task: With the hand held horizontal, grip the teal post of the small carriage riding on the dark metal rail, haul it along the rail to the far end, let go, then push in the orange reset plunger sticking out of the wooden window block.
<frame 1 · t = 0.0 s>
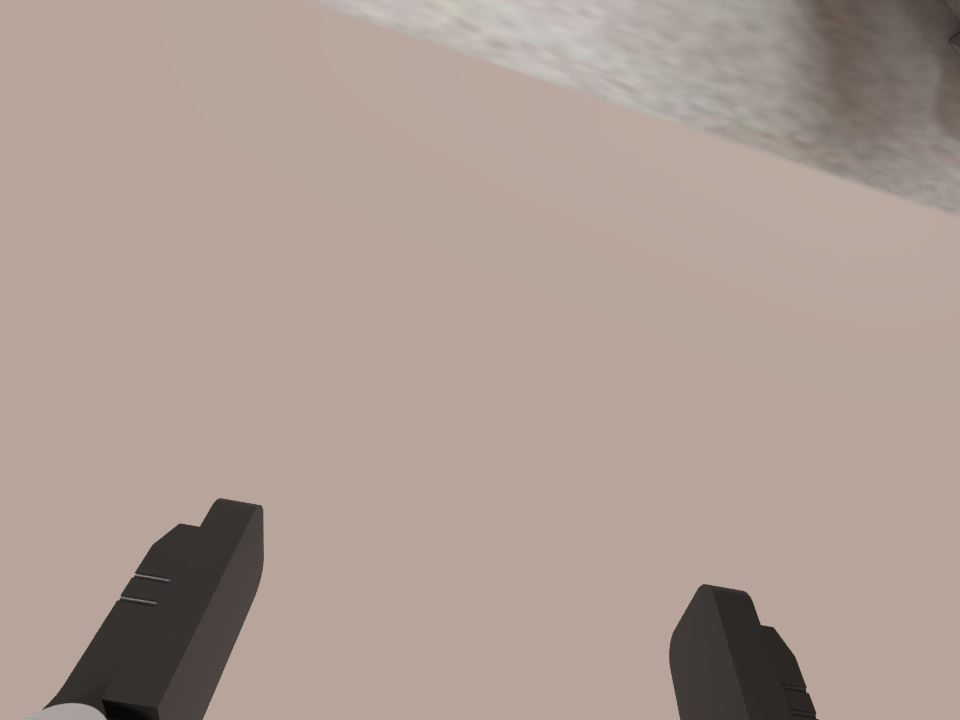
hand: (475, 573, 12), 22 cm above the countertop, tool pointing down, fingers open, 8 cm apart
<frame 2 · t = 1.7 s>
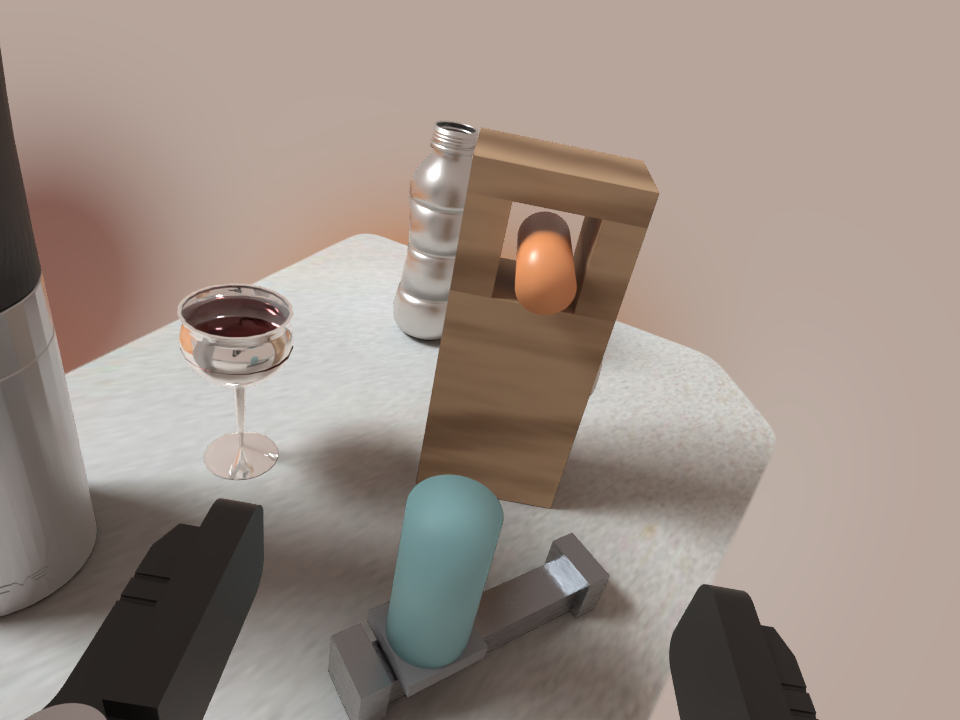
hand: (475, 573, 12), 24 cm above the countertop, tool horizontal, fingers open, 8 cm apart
plunger: (544, 260, 36), point 19 cm above the countertop, slide at 0.0 cm
carriage: (439, 580, 31), point 7 cm above the countertop, slide at 0.0 cm
rail: (473, 636, 37), on the countertop
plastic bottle: (424, 332, 64), on the countertop
wineglass: (241, 456, 46), on the countertop
wooden window block: (486, 468, 49), on the countertop
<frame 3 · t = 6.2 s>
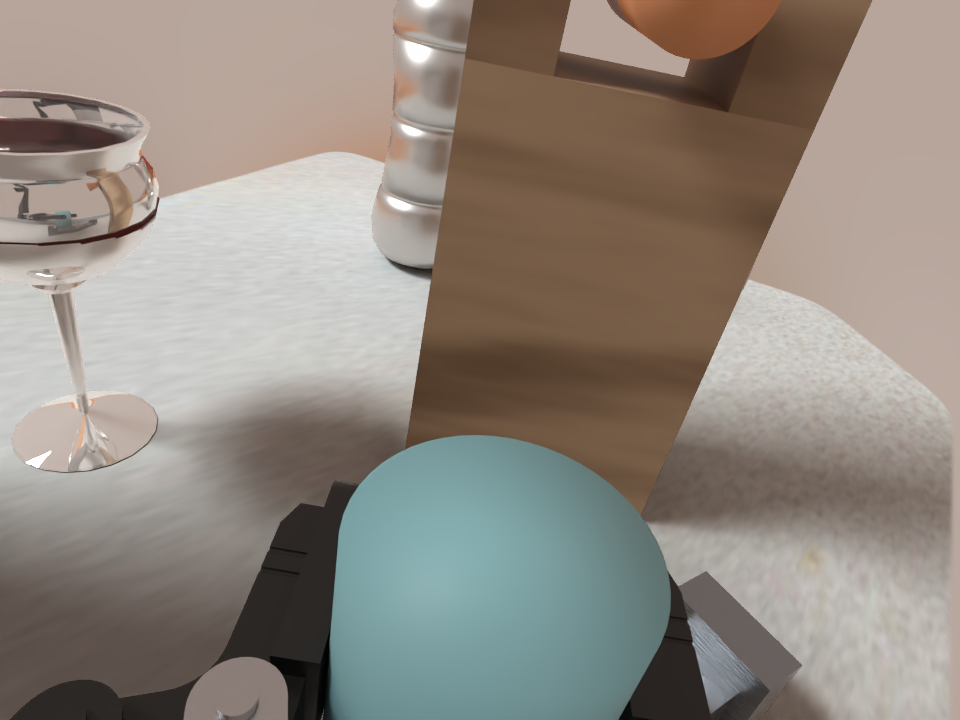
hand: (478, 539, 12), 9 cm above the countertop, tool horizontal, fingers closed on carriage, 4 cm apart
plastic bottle: (417, 261, 44), on the countertop
wineglass: (88, 431, 26), on the countertop
wooden window block: (521, 452, 29), on the countertop
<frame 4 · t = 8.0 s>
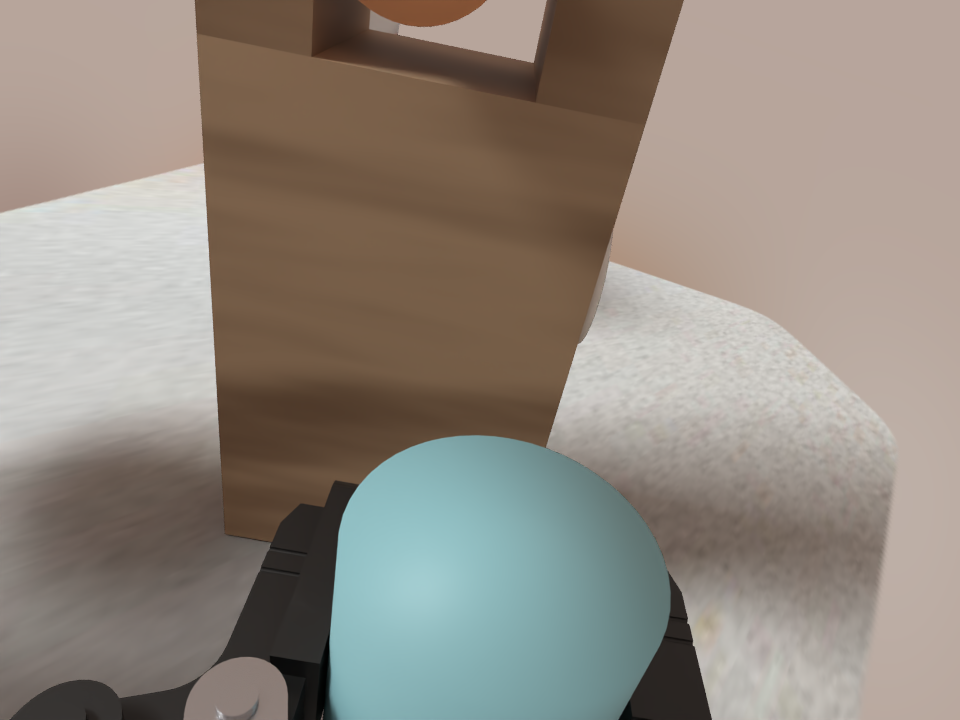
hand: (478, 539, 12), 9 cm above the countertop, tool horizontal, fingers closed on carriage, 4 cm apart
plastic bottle: (320, 272, 40), on the countertop
wooden window block: (382, 497, 25), on the countertop
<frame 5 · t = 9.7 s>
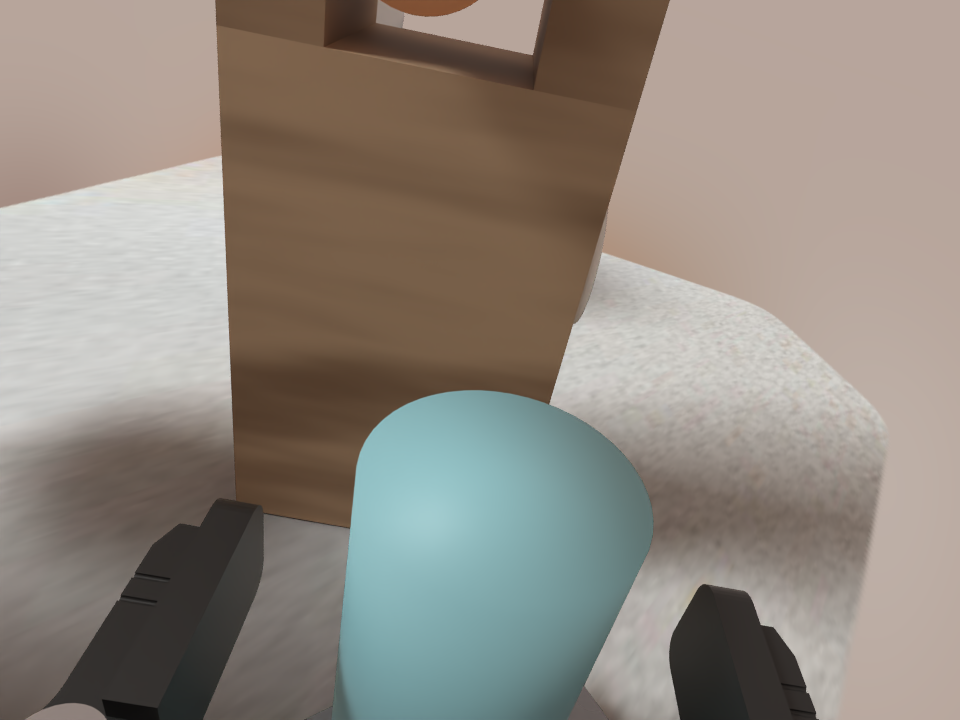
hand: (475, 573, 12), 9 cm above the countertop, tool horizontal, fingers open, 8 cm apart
carriage: (454, 670, 12), point 7 cm above the countertop, slide at 7.0 cm
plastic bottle: (325, 263, 41), on the countertop
wooden window block: (386, 475, 26), on the countertop
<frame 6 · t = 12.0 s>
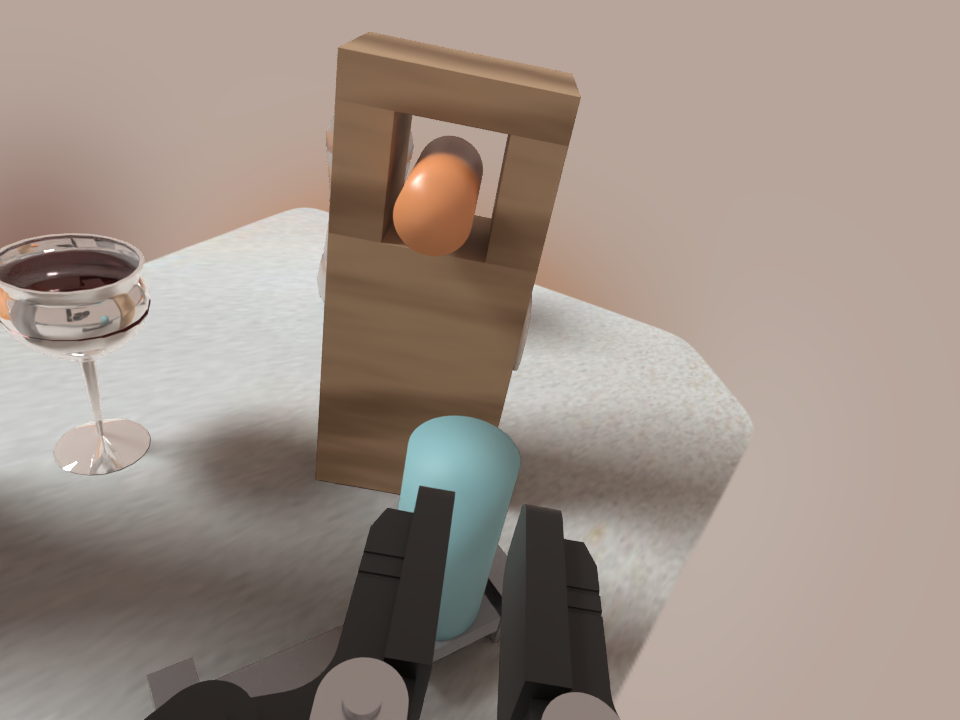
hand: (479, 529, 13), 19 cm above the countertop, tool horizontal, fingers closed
plunger: (442, 191, 29), point 19 cm above the countertop, slide at 0.0 cm
carriage: (445, 539, 27), point 7 cm above the countertop, slide at 7.0 cm
rail: (357, 669, 29), on the countertop
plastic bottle: (355, 309, 57), on the countertop
wineglass: (103, 447, 38), on the countertop
wooden window block: (405, 460, 41), on the countertop
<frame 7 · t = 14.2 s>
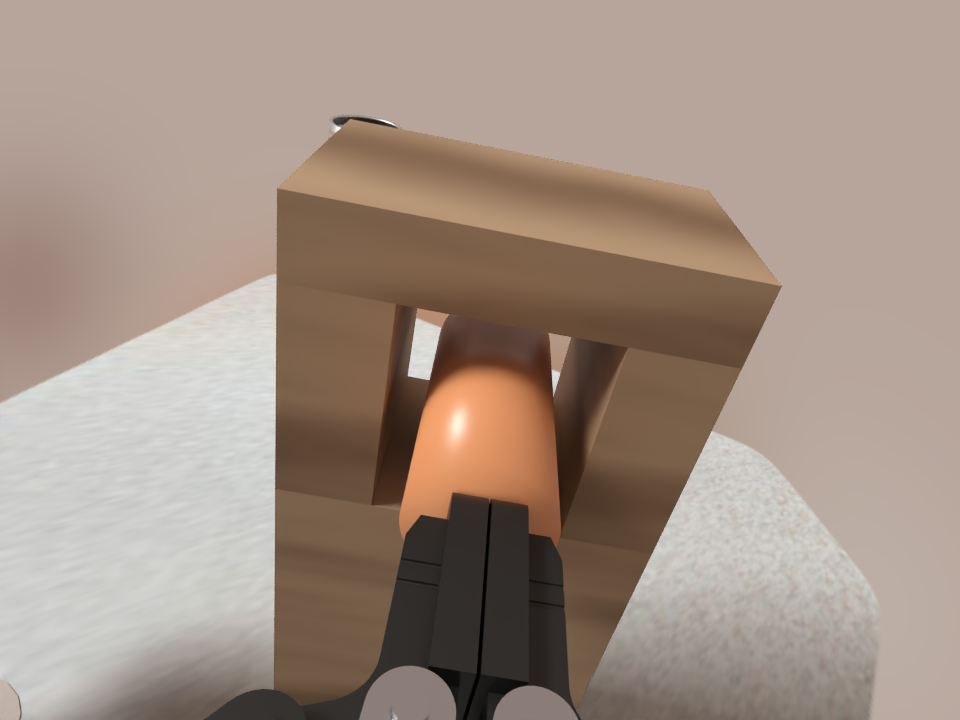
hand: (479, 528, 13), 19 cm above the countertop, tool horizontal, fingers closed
plunger: (488, 419, 16), point 19 cm above the countertop, slide at 0.6 cm, touching gripper
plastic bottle: (342, 432, 43), on the countertop
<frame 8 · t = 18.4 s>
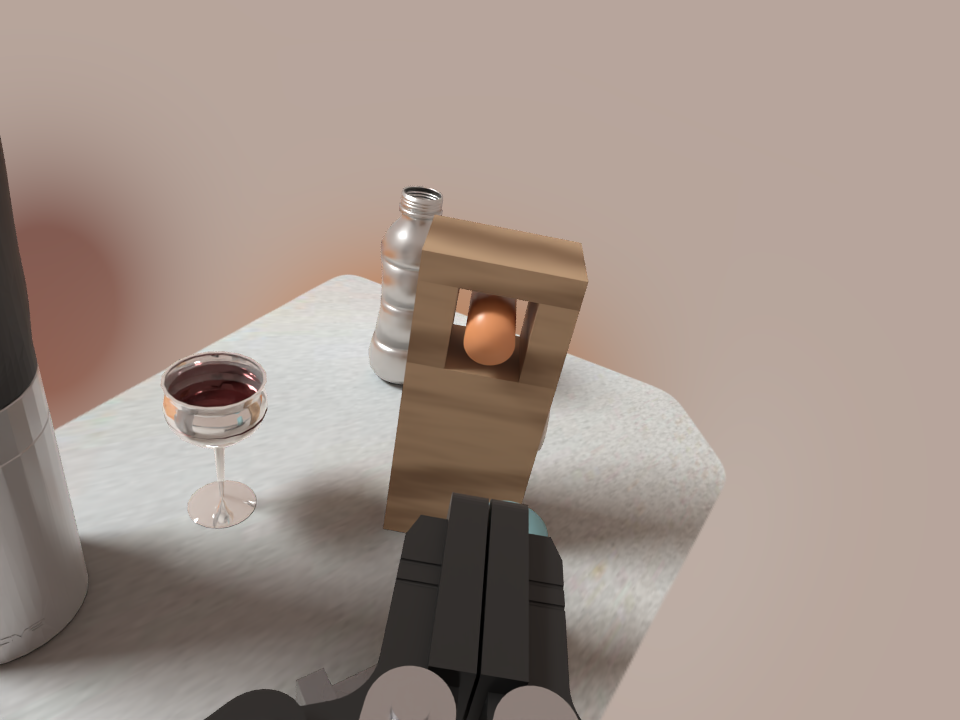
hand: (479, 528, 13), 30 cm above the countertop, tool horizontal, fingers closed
plunger: (491, 316, 43), point 19 cm above the countertop, slide at 2.7 cm
carriage: (493, 584, 39), point 7 cm above the countertop, slide at 7.0 cm
rail: (428, 675, 41), on the countertop
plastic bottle: (398, 375, 68), on the countertop
wineglass: (222, 505, 50), on the countertop
wooden window block: (449, 511, 53), on the countertop
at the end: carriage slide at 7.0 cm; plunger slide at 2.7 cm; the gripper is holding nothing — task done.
